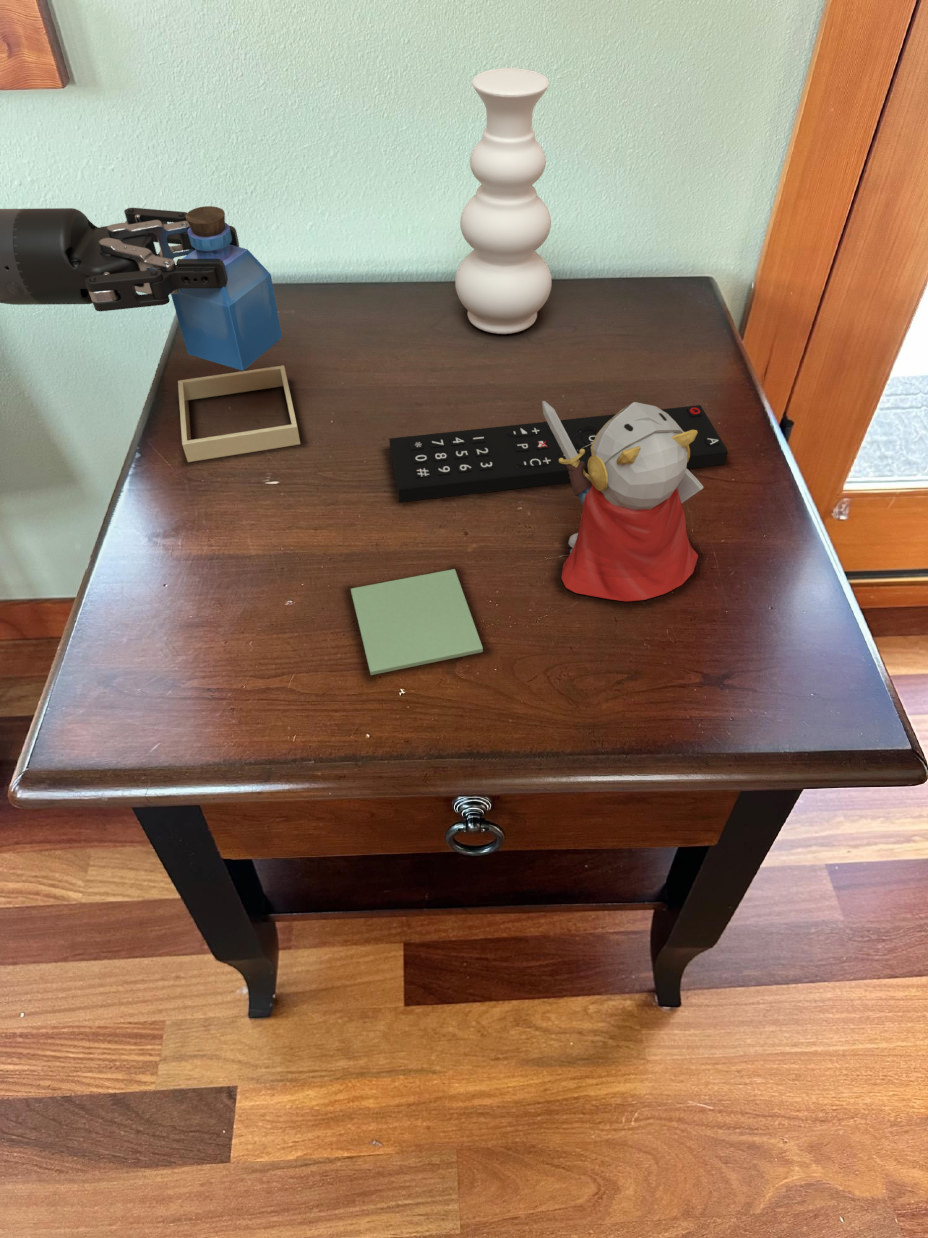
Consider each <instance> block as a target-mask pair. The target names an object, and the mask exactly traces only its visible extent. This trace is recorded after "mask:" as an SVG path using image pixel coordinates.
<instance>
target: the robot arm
mask: <svg viewBox="0 0 928 1238" xmlns="http://www.w3.org/2000/svg"><path fill="white" fill-rule="evenodd" d="M123 212H124V216H125V220H126V221H124V222H118V223H113V224H112V223H111V224H109V225H106V226H105V225H104V226H97V225H95V224H94V223H92V221H90V220H89V218H88V216H86V214H85V213H83V212H82V211H81V210H79V209H77V208H73V207H68V208H67V207H63V208H62V207H61V208H56V207H53V208H51V207H50V208H0V304H4V305H11V306H12V305H13V306H14V305H15V306H17V305H19V306H24V305H25V306H26V305H27V306H30V305H33V306H34V305H36V306H38V305H39V306H40V305H41V306H43V305H93V308H94V310H95V311H96V312H109V311H119V310H130V309H138V308H147V307H156V306H165V305H167V304H169V303H170V302H171V300H170V295H171V294H177V293H180V292H181V291H182V288H183V289H187V288H223V286H224V287H225V286H226V284H227V281H228V279H227V274H226V270H225V265H224V263H223V261H222V260H220V259H182V258H180V257H185V256H187V255H188V254H190V253H191V252H193V251H194V250H195V248H194V247H192V246H191V243H190V239H189V235H188V229H189V228H190V226H189V224H188V221H187V219H186V214H187V213H188V212H185V211H177V210H168V209H167V210H166V209H156V208H155V209H153V208H142V207H128V208H125V209H124V211H123ZM229 227H230V232H231V236H232V241H231V243H230V245H233V246H237V247H240V242H239V241H240V240H239V237H238V232H237V229H236V228H235V227H234V226H233V225H229ZM155 243H158V246H159V252H157V249H156V246H155ZM169 244H170V245H169ZM171 244H172V246H171ZM175 258H177V260H176V262H175V260H174V259H175ZM140 293H142V294H140Z"/></svg>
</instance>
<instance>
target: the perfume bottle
mask: <svg viewBox="0 0 928 1238" xmlns="http://www.w3.org/2000/svg"><path fill="white" fill-rule="evenodd" d="M186 219H187V221H188V224H189V226H190V228H189V229H188V235H189V239H190V243H191V246H192V247H194V248H195V250H194V251H193V252H191V253H190V254H188V255H185V256H183V257H182V258H181V259H220V260H222V261H223V263H224V265H225V270H226V274H227V279H228V281H227V284H226V286H225V287H224V286H223V288H187V289H183V288H182V291H181V292H180V293H177V294H170V295H171V300H172V303H173V307H174V310H175V314H176V318H177V321H178V324H179V327H180V331H181V335H182V338H183V341H184V345H185V348H186V349H185V350H186V353H187V355H189V356H192V357H196V358H198V359H199V358H200V359H203V360H206V361H209V362H213V363H216V364H219V365H223V366H226V367H230V368H232V369H236V370H238V371H246V370H247V369H248V368H249V367H250V366H251V365H252V364H253V363H255V362H256V361H257V360H258V359H259V358H260V357H261V356H263V355H264V354H265V353H266V352H267V351H269V349H271V348H272V347H273V346H274V345H275V344H276V343H278V342H279V341H280V340H281V339H282V338H283V334H282V328H281V323H280V317H279V312H278V306H277V300H276V295H275V291H274V290H275V289H274V284H273V279H272V274H271V272H269V270H268V269H266V268H265V266H264V265H263V264H262V263H261V262H260V261H259V260H258V259H257V258H256V256H254V254H253V253H252V252H251V251H250V250H249V249H248V248H245V247H241V246H239V247H237V246H233V245H230V243H231V241H232V236H231V232H230V227H229V226H230V225H229V224H228V223H227V222H226V213H225V210H224V209H222V208H221V207H218V206H212V205H208V206H207V205H205V206H198V207H195V208H192V209H190V210H189V211H188V212H187V214H186Z"/></svg>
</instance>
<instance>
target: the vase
mask: <svg viewBox="0 0 928 1238" xmlns="http://www.w3.org/2000/svg"><path fill="white" fill-rule="evenodd" d="M471 81H472V82H471V84H472V87H473V89H474V90H475V92H476V94H477V95H478V97H479V98H480V99H481V101H482V103H483V104H484V106H485V111H486V127H485V128H484V129H483V131H482V136H481V139H480V140H479V141H478V142H477V143H476V144H475V146H474V147H473V149H472V150H471V153H470V156H469V167H470V171H471V173H472V175H473V177H475V179H476V181H478V182H479V184H481V185H480V186H478V188H477V189H476V193H475V195H473V196H472V197H471V198H470V199H469V200H468V201H467V203H465V205H464V207H463V209H462V211H461V215H460V219H459V220H460V221H459V225H460V231H461V234H462V236H463V238H464V240H465V241H466V243H467V244H468V245H469V246H470V248H472V249H473V250H472V251H471V252H470V253H468V254H467V255H466V256H465V257H464V259H463V260H462V261H461V263H459V266H458V268H457V271H456V273H455V278H454V279H455V280H454V284H455V291H456V294H457V297H458V299H459V301H460V303H461V304H462V306H463V307H464V308H465V309H466V310H467V318H468V320H469V322H470V323H471V324H472V325H473V326H474V327H476V328H477V329H479V330H480V331H481V330H482V331H484V332H487V333H491V334H497V335H500V334H501V335H507V334H509V335H510V334H515V333H520V332H522V331H525V330H526V329H529V328H530V327H532V326H533V325H534V323H536V320H537V318H538V312H539V311H540V310H541V309H542V308H543V307H544V305H545V304H546V302H547V301H548V299H549V296H550V294H551V292H552V284H553V283H552V274H551V270H550V268H549V266H548V264H547V262H546V260H545V259H544V258H543V257H542V256H541V255H540V254H539V253H538V252H537V251H536V250H538V249H539V248H541V246H542V245H543V244H544V243H545V242H546V240H547V238H548V236H549V234H550V232H551V228H552V218H551V213H550V210H549V208H548V206H547V205H546V203H545V202H544V201H543V199H542V198H541V197H539V196H538V191H537V189H536V188H535V187H534V186H533V185H534V184H535V183H536V182H538V181H539V179H540V178H541V177H542V176H543V174H544V172H545V169H546V166H547V165H546V164H547V158H546V154H545V151H544V149H543V147H542V146H541V145H540V143H539V142H538V141H537V140H536V135H535V134H536V133H535V130H534V129H533V128H532V127H533V113H534V109H535V107H536V105H537V103H538V102H539V101H540V99H541V98H542V97H543V96H544V94H545V92H546V91H547V90H548V89H549V87H550V80H549V78H548V77H547V76H545V75H544V74H542V73H540V72H539V71H535V70H530V69H527V68H518V67H499V68H493V69H488V70H486V71H481V72H480V73H478V74H476V75H475V76H474V77H473V78H472V79H471Z"/></svg>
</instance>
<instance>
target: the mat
mask: <svg viewBox="0 0 928 1238" xmlns="http://www.w3.org/2000/svg"><path fill="white" fill-rule="evenodd" d="M457 573H458V572H457V571H456V569H455V568H452V569H447V570H441V571H437V572H431V573H426V574H421V575H415V576H410V577H405V578H399V579H395V580H389V581H384V582H379V583H378V582H377V583H373V584H368V585H362V586H357V587H352V588H350V594H351V598H352V602H353V607H354V611H355V615H356V619H357V623H358V628H359V632H360V637H361V640H362V641H361V642H362V644H363V645H362V646H363V649H364V653H365V657H366V662H367V667H368V670H369V674H370V676H374V675H380V674H386V673H389V672H394V671H398V670H404V669H408V668H413V667H418V666H423V665H428V664H432V663H436V662H443V661H446V660H452V659H457V658H461V657H466V656H472V655H476V654H480V653H483V652H484V648H483V645H482V642H481V639H480V636H479V633H478V630H477V627H476V625H475V622H474V619H473V616H472V613H471V610H470V607H469V605H468V602H467V599H466V596H465V593H464V590H463V588H462V585H461V582H460V580H459V576H458V574H457Z"/></svg>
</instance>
